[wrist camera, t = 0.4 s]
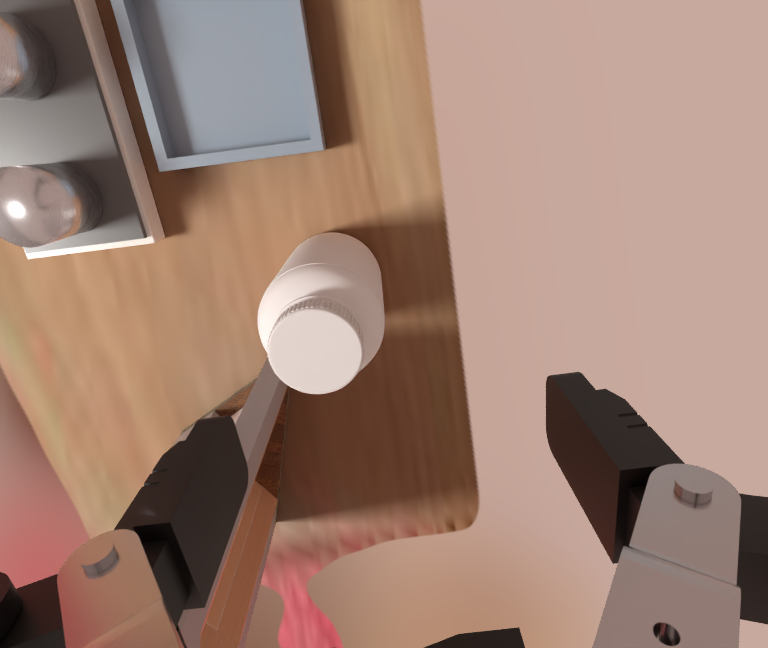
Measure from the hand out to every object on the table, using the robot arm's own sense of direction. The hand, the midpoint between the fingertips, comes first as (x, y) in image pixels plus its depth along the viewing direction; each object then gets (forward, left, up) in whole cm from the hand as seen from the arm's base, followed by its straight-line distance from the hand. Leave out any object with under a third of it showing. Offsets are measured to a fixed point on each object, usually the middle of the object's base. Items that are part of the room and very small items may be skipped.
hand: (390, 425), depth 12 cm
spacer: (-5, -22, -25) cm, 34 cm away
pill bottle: (+4, -4, -28) cm, 29 cm away
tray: (-12, -9, -28) cm, 32 cm away
